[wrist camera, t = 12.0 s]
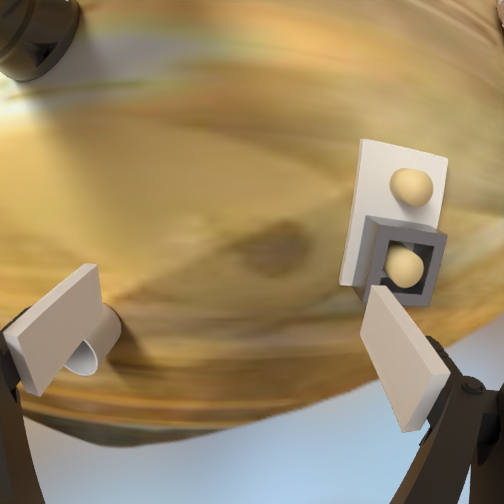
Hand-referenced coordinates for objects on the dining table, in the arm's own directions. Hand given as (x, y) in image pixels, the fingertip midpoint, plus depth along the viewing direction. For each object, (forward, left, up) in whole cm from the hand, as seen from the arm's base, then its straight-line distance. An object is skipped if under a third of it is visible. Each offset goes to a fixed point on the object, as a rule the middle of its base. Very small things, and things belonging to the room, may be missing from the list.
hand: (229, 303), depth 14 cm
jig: (-1, +18, -24) cm, 30 cm away
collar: (+3, +18, -23) cm, 30 cm away
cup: (+20, -21, -25) cm, 38 cm away
